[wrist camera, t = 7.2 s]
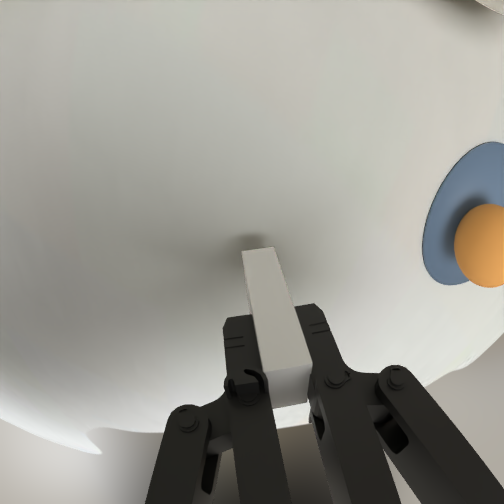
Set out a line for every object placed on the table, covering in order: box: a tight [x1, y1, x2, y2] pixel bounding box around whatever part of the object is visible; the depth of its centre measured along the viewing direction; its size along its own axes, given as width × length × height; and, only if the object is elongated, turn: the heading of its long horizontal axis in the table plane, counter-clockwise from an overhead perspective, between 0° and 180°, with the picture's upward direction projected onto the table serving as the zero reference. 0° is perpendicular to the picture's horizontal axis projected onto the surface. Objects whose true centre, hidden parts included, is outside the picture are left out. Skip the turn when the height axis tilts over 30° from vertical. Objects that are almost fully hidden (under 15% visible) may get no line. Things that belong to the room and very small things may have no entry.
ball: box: [454, 204, 504, 288], centre depth 15 cm, size 6×6×6 cm
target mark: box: [423, 142, 504, 285], centre depth 17 cm, size 12×12×1 cm
